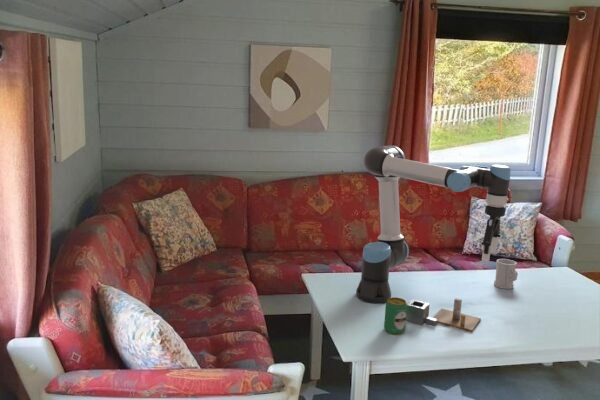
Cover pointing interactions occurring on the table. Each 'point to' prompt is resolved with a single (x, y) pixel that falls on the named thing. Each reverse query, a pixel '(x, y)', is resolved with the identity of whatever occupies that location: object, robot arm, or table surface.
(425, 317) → the grey hollow square block
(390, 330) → the beverage can
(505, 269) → the cup
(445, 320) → the post base
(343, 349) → the table surface
